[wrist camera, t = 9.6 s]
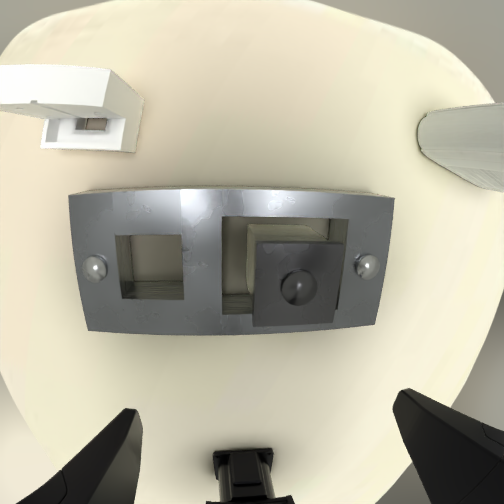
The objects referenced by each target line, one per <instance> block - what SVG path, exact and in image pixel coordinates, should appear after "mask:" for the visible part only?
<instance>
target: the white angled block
mask: <svg viewBox="0 0 504 504" xmlns="http://www.w3.org/2000/svg"><path fill="white" fill-rule="evenodd" d="M144 101H145V100H144V99H143V98H142V97H141V96H140V95H139V94H138V93H137V92H136V91H135V90H134V89H132V88H131V87H130V86H129V85H128V84H127V83H126V82H125V81H124V80H122V79H121V78H120V77H119V76H118V75H117V74H116V73H115V72H113V71H112V70H111V69H103V68H94V67H83V66H69V65H45V64H22V65H0V111H5V112H10V113H16V114H21V115H26V116H31V117H36V118H40V119H45V121H44V127H43V133H42V140H41V147H40V148H45V149H62V150H97V151H117V152H132V153H135V151H136V144H137V138H138V132H139V127H140V121H141V116H142V111H143V106H144ZM87 118H107V123H106V129H105V130H85V129H86V123H87Z"/></svg>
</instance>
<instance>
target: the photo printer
mask: <svg viewBox="0 0 504 504" xmlns="http://www.w3.org/2000/svg"><path fill="white" fill-rule="evenodd" d="M418 141H419V146H420V147H421V148H422V149H421V151H422V153H423V154H425V155H426V156H427V157H428V158H430V159H431V160H433V161H435V162H436V163H438V164H440V165H441V166H443V167H445V168H446V169H448V170H450V171H452V172H453V173H455V174H457V175H458V176H460V177H462V178H464V179H465V180H467V181H469V182H470V183H472V184H474V185H476V186H478V187H481V188H484V189H488V190H494V191H499V192H504V103H493V104H482V105H471V106H463V107H456V108H449V109H442V110H436V111H431V112H429V113H427V116H426V117H424V118H423V119H422V120H421V122H420V124H419V128H418Z"/></svg>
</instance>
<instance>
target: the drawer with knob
mask: <svg viewBox="0 0 504 504" xmlns="http://www.w3.org/2000/svg"><path fill="white" fill-rule="evenodd" d="M343 252H344V244H343V243H341V242H331V241H329V240H327V239H326V238H324V237H323V236H321V235H320V234H318V233H317V232H315V231H314V230H313V229H311V228H310V227H308V226H307V225H276V224H248V233H247V264H246V283H247V287H248V291H249V294H250V298H251V302H252V324H253V327H267V326H290V325H307V324H322V323H333V320H334V314H335V308H336V302H337V296H338V289H339V282H340V275H341V268H342V260H343Z"/></svg>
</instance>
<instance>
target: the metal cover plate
mask: <svg viewBox="0 0 504 504" xmlns="http://www.w3.org/2000/svg"><path fill="white" fill-rule="evenodd" d="M394 199H395V198H392V197H388V196H383V195H379V194H374V193H365V192H353V191H340V190H325V189H308V188H287V187H255V186H172V187H142V188H121V189H105V190H90V191H84V192H80V193H76V194H71V195H69V212H70V225H71V235H72V244H73V253H74V260H75V267H76V273H77V279H78V285H79V291H80V296H81V301H82V306H83V311H84V315H85V320H86V324H87V328H88V331H98V332H112V333H129V334H151V335H250V334H273V333H291V332H305V331H318V330H329V329H340V328H350V327H359V326H367V325H375V321H376V316H377V312H378V307H379V302H380V298H381V292H382V287H383V282H384V276H385V270H386V264H387V258H388V251H389V244H390V237H391V229H392V220H393V210H394ZM222 216H244V217H305V218H330V228H329V241H331V242H341V243H343V244H344V252H343V260H342V268H341V275H340V282H339V289H338V296H337V302H336V308H335V314H334V320H333V323H322V324H307V325H290V326H267V327H253V324H252V302H251V298H250V294H229V295H222ZM175 234H181V238H182V265H183V282H166V281H134V278H133V269H132V259H131V247H130V235H175Z"/></svg>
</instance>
